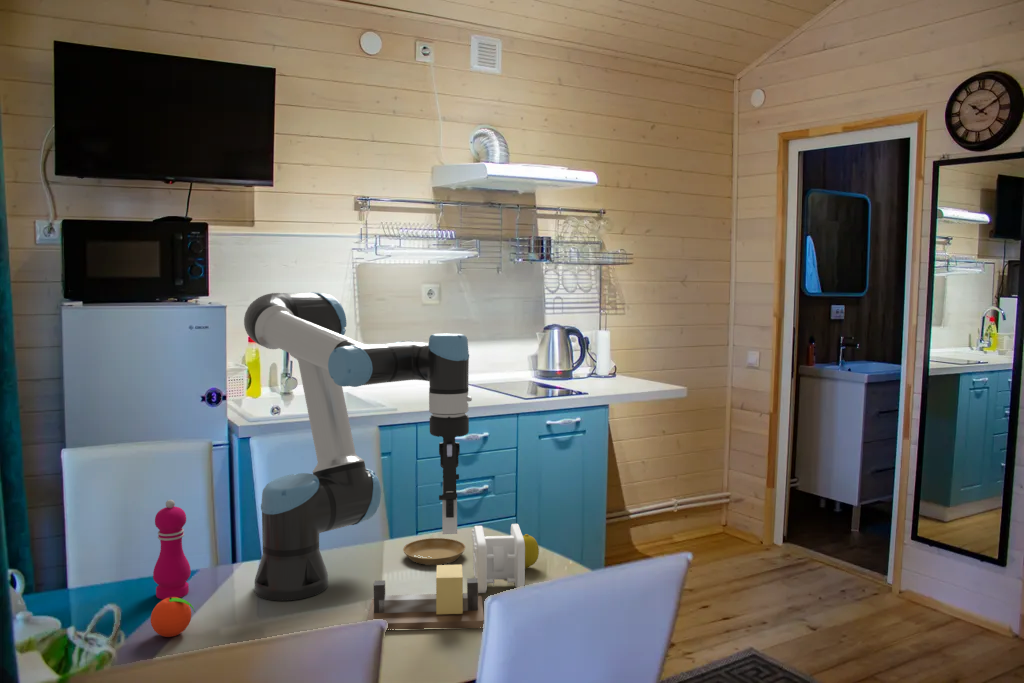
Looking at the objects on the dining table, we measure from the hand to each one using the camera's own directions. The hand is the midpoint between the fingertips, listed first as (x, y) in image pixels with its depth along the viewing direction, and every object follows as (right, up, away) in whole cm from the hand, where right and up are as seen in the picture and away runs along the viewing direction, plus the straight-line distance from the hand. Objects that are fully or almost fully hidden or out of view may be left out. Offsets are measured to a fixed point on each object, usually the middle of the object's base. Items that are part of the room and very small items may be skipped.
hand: (449, 522), depth 154 cm
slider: (0, -17, +1) cm, 17 cm away
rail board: (-5, -19, +1) cm, 19 cm away
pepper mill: (-59, -18, +12) cm, 62 cm away
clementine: (-50, -19, -8) cm, 54 cm away
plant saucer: (-6, -17, +35) cm, 39 cm away
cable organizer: (+9, -18, +18) cm, 27 cm away
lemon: (+15, -17, +28) cm, 36 cm away
